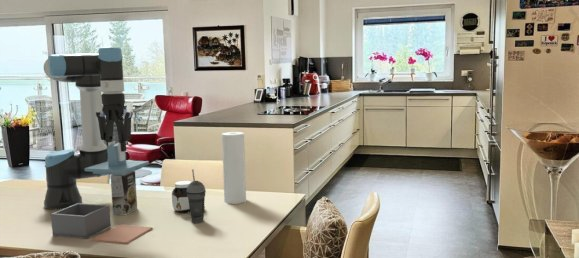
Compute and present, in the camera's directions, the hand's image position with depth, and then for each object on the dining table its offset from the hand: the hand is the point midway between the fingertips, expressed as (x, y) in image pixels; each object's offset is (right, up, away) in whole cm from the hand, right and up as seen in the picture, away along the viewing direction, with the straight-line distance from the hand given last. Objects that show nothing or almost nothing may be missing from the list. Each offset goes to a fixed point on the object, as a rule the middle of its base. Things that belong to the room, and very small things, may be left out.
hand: (117, 160), depth 179 cm
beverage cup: (+25, -24, +17) cm, 39 cm away
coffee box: (-7, -23, +32) cm, 40 cm away
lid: (0, -4, 0) cm, 4 cm away
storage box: (-15, -26, +8) cm, 32 cm away
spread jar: (+19, -22, +32) cm, 44 cm away
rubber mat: (+1, -26, +4) cm, 27 cm away
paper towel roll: (+36, -20, +45) cm, 61 cm away
